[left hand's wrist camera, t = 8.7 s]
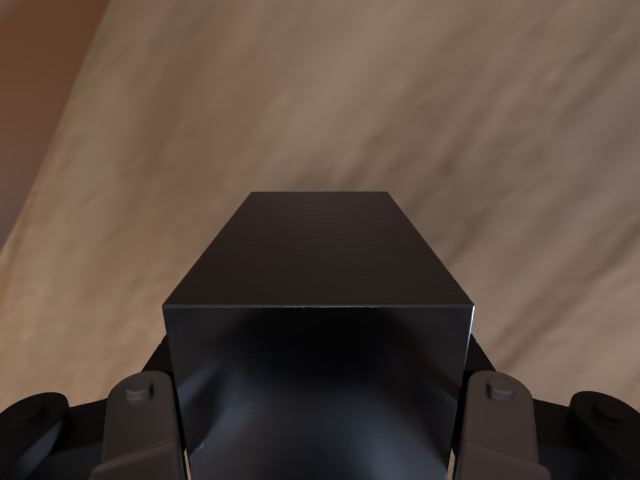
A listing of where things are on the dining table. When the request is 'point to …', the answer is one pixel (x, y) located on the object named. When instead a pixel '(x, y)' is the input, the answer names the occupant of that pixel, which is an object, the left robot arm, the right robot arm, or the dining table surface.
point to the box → (318, 344)
